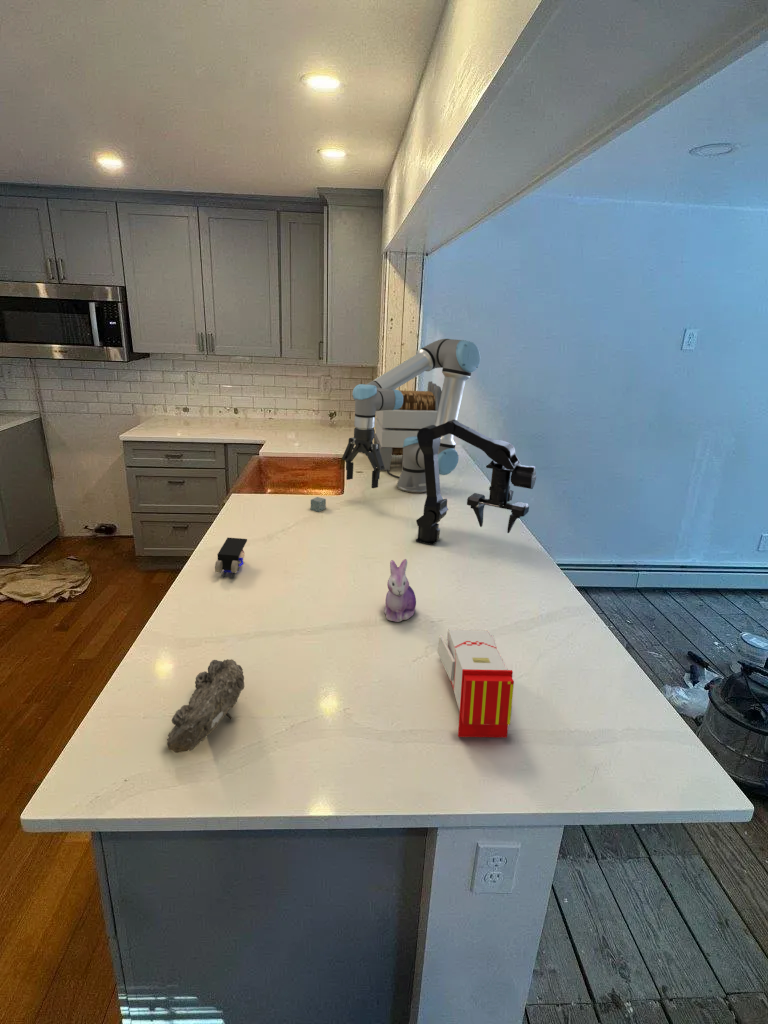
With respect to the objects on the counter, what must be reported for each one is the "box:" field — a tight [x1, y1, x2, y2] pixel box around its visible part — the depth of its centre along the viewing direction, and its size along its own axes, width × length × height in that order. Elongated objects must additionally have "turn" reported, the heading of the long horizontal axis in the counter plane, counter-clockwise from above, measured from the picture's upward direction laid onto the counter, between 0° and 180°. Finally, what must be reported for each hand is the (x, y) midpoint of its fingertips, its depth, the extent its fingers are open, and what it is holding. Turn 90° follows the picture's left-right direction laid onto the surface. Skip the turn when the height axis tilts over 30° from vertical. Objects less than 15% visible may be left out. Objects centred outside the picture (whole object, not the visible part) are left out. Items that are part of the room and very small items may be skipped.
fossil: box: [166, 658, 245, 754], centre depth 106 cm, size 22×10×15 cm
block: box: [310, 496, 327, 513], centre depth 220 cm, size 4×4×4 cm
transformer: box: [373, 381, 442, 472], centre depth 285 cm, size 34×33×41 cm
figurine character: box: [214, 537, 248, 578], centre depth 166 cm, size 7×8×15 cm
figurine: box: [384, 558, 417, 623], centre depth 145 cm, size 9×10×15 cm
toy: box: [437, 628, 515, 738], centre depth 117 cm, size 12×13×30 cm
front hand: (494, 529), depth 182 cm, fingers open, 9 cm apart
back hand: (361, 483), depth 215 cm, fingers open, 13 cm apart
